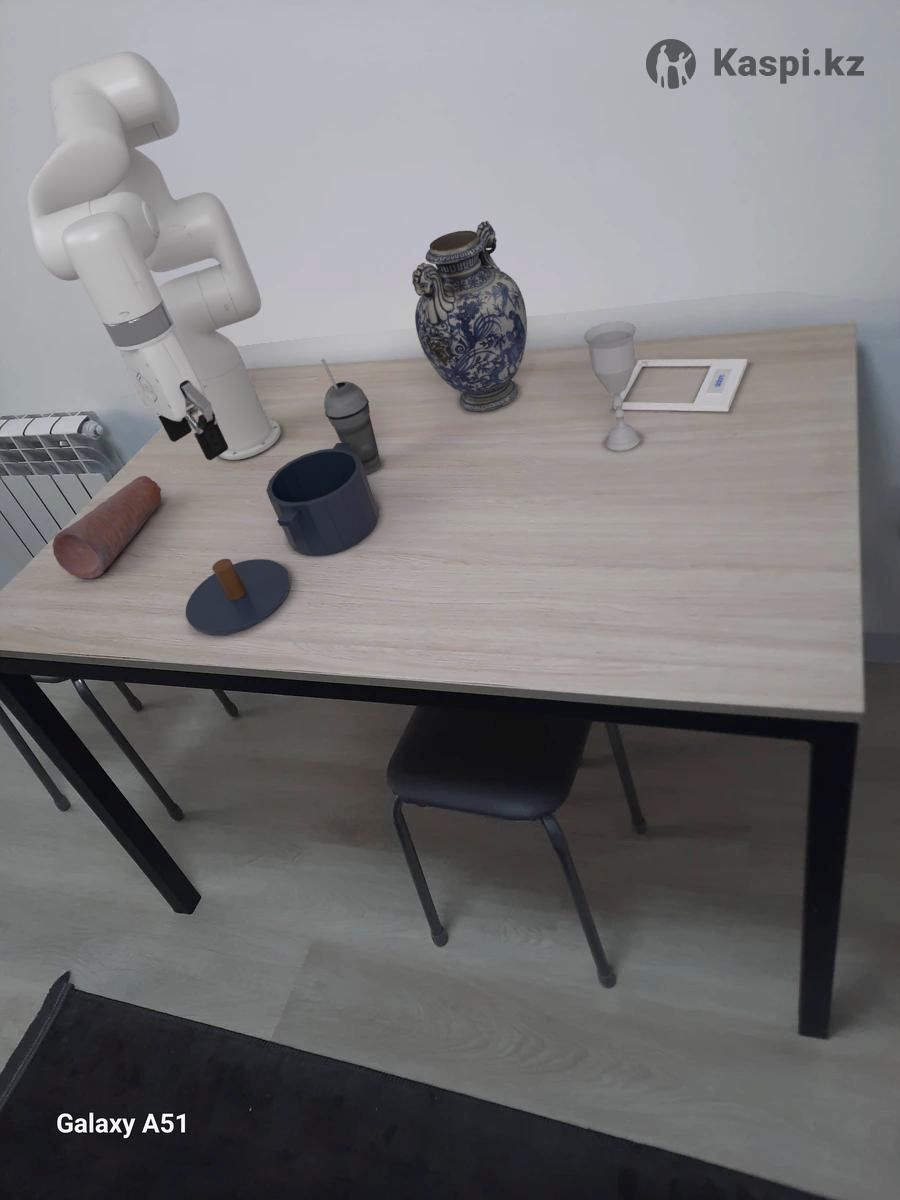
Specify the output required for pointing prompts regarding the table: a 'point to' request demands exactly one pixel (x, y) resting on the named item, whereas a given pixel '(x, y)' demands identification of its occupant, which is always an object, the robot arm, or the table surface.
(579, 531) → the table surface
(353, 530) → the pot
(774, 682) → the table surface
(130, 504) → the food
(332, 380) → the beverage cup
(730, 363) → the photo frame
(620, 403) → the chalice
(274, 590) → the lid
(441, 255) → the decorative vase
